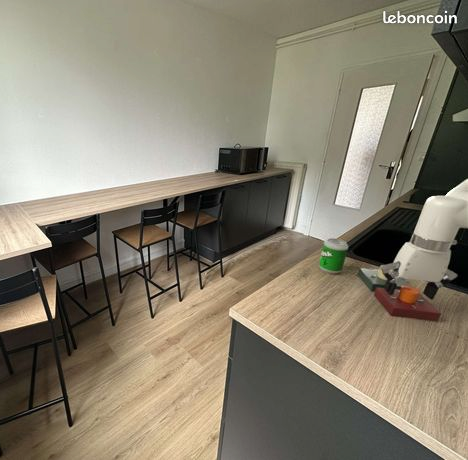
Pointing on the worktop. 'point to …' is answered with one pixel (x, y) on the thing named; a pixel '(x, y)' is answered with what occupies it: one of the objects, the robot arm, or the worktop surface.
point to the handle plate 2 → (407, 306)
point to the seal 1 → (382, 274)
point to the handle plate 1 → (377, 279)
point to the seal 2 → (408, 294)
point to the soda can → (333, 255)
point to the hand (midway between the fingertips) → (407, 294)
